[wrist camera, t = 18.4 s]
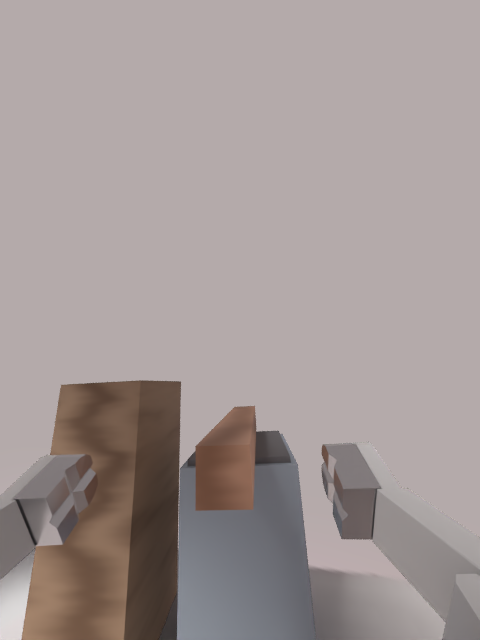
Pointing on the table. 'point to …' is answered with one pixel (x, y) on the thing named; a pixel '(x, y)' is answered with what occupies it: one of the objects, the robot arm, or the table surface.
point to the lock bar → (227, 463)
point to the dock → (246, 557)
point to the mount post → (114, 517)
